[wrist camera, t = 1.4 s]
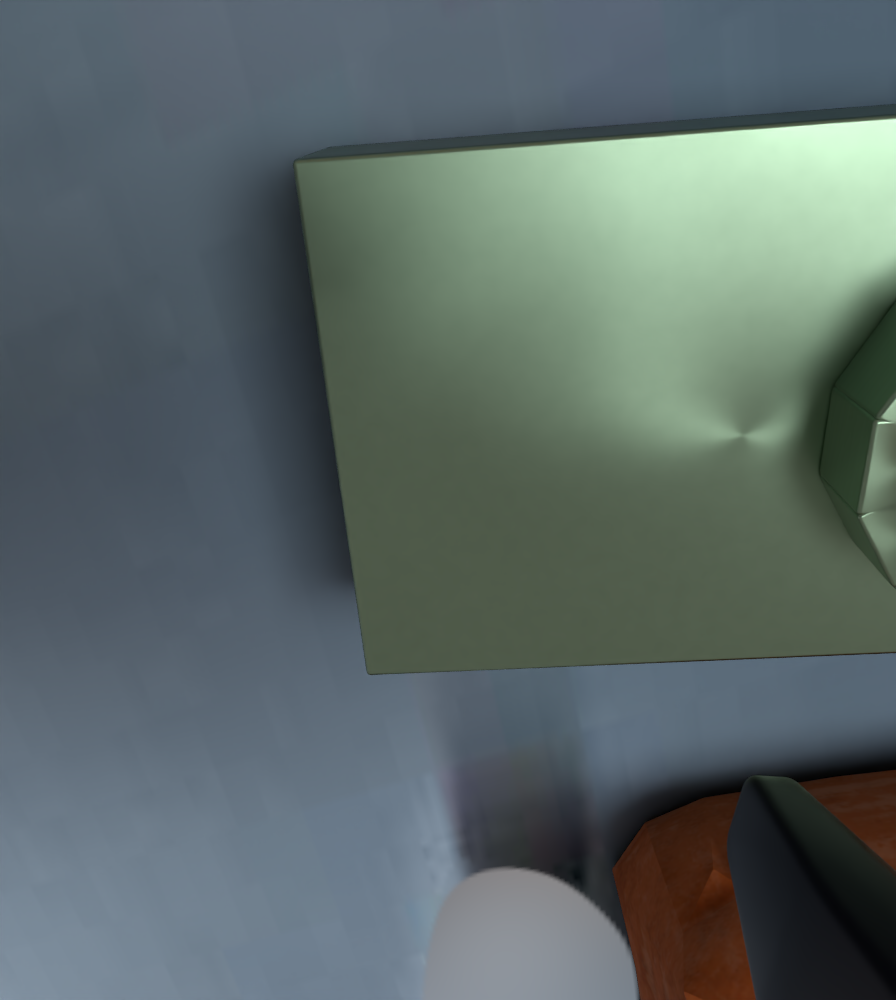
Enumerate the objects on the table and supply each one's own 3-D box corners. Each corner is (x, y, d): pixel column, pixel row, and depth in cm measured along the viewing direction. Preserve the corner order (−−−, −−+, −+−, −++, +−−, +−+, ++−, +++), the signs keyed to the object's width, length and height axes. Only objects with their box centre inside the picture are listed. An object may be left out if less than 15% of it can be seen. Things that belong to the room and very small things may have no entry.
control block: (382, 588, 22) (357, 732, 17) (325, 147, 17) (266, 168, 12) (1007, 558, 21) (1174, 701, 16) (1142, 85, 16) (1444, 79, 11)
